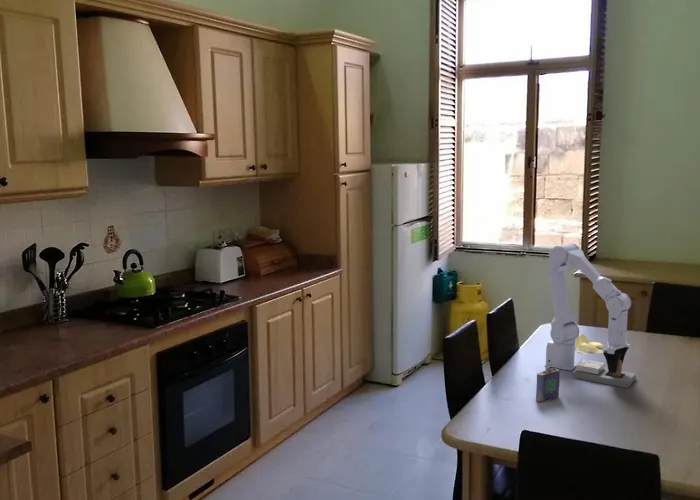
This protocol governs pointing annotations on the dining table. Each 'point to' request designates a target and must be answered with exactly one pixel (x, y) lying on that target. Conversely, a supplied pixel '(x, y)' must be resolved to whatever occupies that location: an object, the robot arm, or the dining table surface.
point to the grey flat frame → (607, 377)
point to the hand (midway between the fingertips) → (615, 369)
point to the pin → (618, 371)
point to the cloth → (587, 345)
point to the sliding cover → (590, 366)
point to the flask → (547, 384)
